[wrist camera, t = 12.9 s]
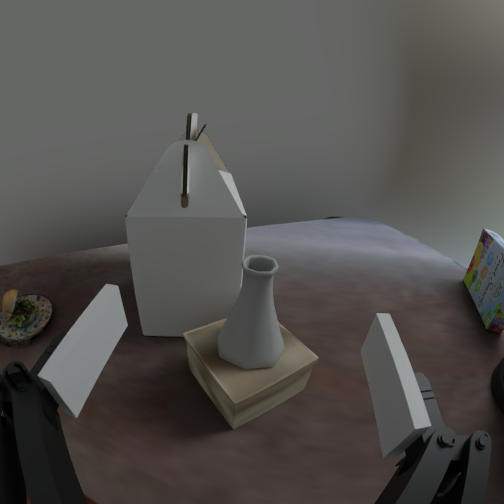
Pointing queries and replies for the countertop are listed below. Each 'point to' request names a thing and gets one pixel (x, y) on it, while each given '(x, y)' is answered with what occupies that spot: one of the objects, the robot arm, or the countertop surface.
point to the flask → (253, 319)
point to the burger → (23, 318)
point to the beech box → (247, 375)
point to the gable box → (186, 239)
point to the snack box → (488, 280)
